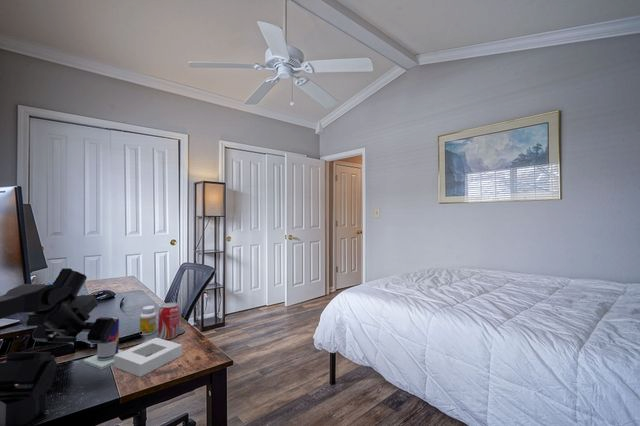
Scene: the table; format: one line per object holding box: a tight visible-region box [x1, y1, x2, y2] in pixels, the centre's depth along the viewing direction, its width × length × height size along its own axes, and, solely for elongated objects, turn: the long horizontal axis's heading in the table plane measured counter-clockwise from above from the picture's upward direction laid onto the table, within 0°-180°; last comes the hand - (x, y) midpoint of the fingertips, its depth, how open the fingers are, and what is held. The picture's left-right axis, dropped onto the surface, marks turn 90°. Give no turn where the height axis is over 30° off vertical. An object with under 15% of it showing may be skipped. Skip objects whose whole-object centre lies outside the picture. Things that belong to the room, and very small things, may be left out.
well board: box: [113, 337, 183, 377], centre depth 92 cm, size 14×12×4 cm
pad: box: [83, 348, 124, 370], centre depth 92 cm, size 9×9×1 cm
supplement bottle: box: [139, 305, 157, 336], centre depth 113 cm, size 5×5×10 cm
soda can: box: [157, 301, 180, 341], centre depth 110 cm, size 7×7×12 cm
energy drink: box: [96, 315, 120, 361], centre depth 92 cm, size 5×5×12 cm
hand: (91, 341), depth 85 cm, fingers open, 9 cm apart
